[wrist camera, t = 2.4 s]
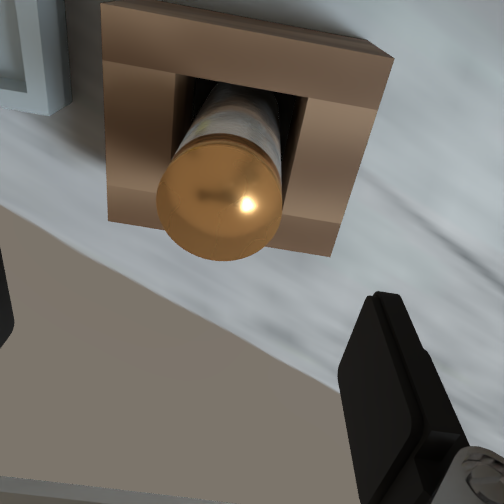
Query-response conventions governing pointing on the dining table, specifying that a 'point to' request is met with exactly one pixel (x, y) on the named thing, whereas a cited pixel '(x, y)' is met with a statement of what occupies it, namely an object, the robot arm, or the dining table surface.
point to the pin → (225, 176)
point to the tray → (34, 56)
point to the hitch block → (246, 74)
